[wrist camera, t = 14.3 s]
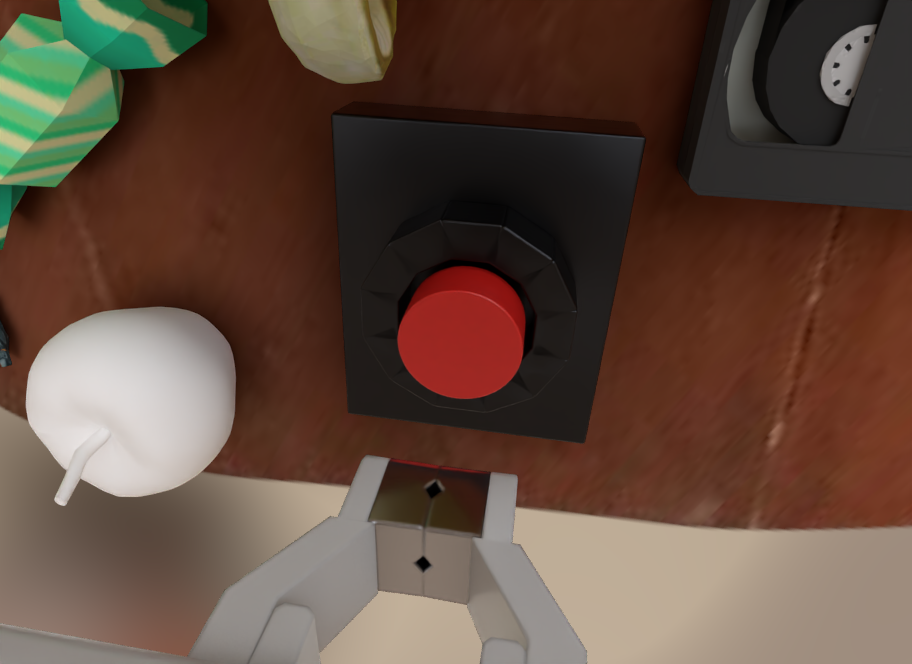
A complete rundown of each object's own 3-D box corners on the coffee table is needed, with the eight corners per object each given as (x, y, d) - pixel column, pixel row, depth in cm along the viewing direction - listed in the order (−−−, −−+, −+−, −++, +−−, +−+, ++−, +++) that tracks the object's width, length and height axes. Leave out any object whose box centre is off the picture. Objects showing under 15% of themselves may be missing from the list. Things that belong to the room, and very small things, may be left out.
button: (410, 259, 18) (396, 283, 16) (531, 271, 17) (529, 297, 16) (409, 361, 19) (396, 392, 18) (519, 374, 19) (516, 406, 17)
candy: (96, -115, 16) (77, -40, 14) (208, -16, 19) (206, 59, 16) (-92, 143, 21) (-129, 228, 19) (17, 193, 23) (-4, 273, 21)
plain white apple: (129, 405, 27) (-14, 545, 20) (93, 263, 24) (-97, 374, 17) (276, 428, 27) (179, 580, 20) (261, 286, 23) (136, 411, 16)
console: (352, 101, 19) (307, 124, 16) (637, 122, 18) (657, 152, 15) (363, 381, 25) (332, 445, 21) (582, 409, 24) (587, 479, 20)
